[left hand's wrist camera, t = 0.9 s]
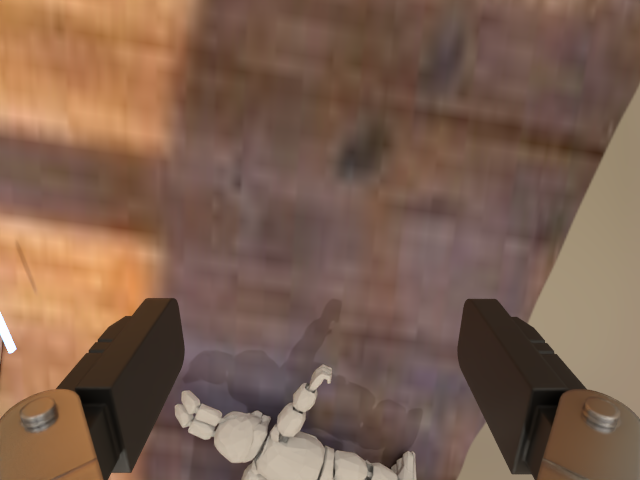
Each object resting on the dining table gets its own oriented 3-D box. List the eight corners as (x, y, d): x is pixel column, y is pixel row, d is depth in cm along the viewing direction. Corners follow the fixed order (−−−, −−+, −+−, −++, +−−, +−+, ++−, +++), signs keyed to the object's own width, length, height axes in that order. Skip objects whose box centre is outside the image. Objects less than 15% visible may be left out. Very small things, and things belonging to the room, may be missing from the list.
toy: (369, 329, 46) (377, 369, 39) (420, 479, 54) (434, 532, 48) (174, 385, 49) (151, 430, 42) (252, 519, 57) (243, 574, 51)
